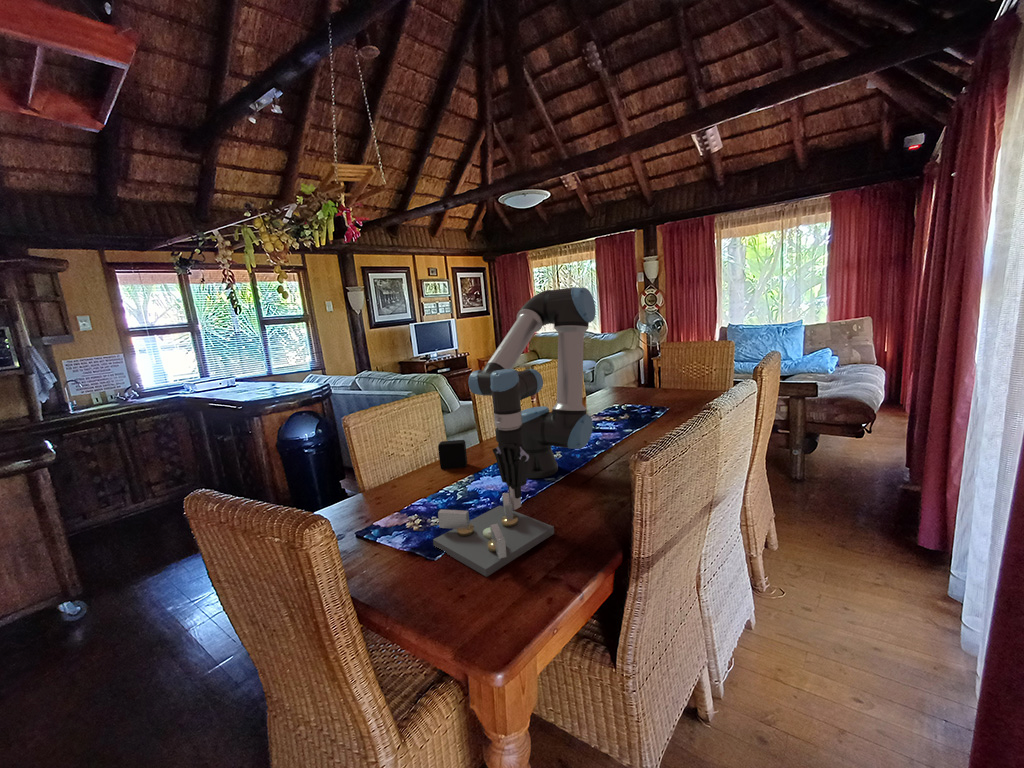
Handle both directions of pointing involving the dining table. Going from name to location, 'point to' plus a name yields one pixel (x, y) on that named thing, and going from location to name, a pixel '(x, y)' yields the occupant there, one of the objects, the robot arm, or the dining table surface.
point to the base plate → (475, 545)
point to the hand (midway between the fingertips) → (516, 507)
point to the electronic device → (452, 454)
